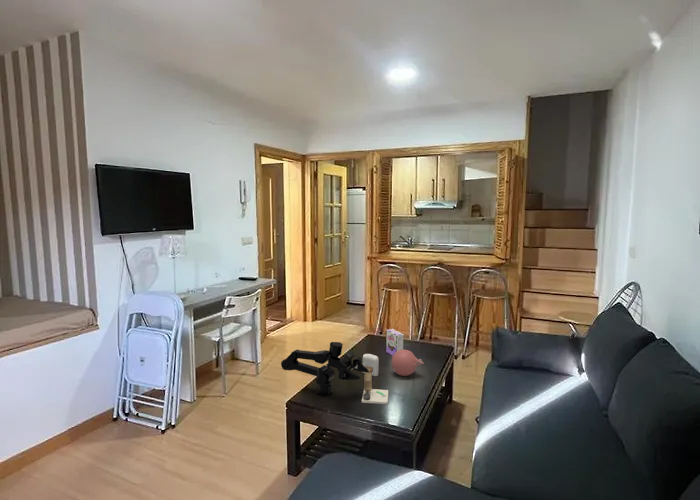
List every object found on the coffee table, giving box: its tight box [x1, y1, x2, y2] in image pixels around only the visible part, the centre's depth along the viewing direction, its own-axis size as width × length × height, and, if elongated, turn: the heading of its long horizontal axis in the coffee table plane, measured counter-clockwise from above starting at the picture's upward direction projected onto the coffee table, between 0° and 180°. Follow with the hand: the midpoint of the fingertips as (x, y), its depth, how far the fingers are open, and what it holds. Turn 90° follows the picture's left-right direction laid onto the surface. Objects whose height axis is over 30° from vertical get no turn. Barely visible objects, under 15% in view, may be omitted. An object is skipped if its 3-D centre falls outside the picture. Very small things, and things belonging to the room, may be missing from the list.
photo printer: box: [361, 353, 380, 377], centre depth 242 cm, size 10×4×12 cm, turn 60°
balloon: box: [390, 349, 425, 377], centre depth 240 cm, size 15×20×15 cm
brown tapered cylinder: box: [362, 366, 373, 400], centre depth 212 cm, size 11×5×14 cm, turn 173°
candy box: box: [385, 328, 405, 357], centre depth 274 cm, size 14×6×16 cm, turn 25°
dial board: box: [361, 388, 389, 405], centre depth 213 cm, size 14×14×1 cm
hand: (364, 374), depth 204 cm, fingers open, 9 cm apart
